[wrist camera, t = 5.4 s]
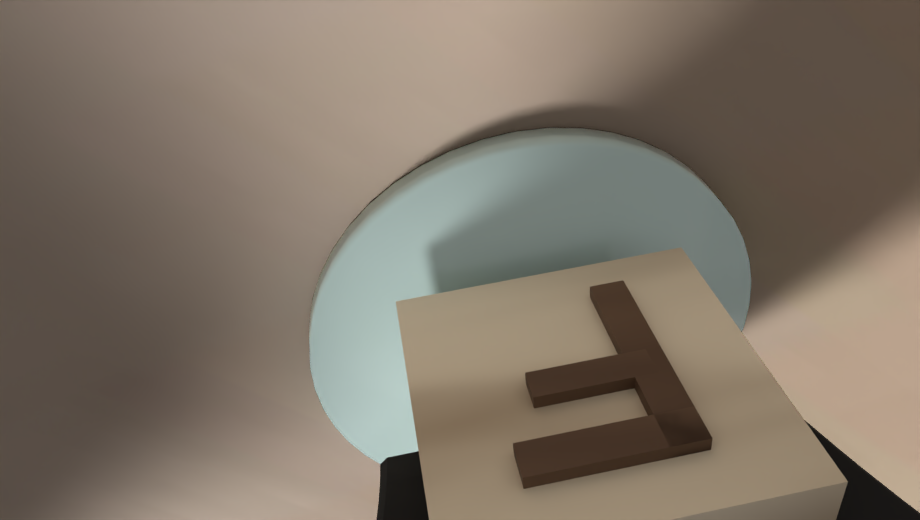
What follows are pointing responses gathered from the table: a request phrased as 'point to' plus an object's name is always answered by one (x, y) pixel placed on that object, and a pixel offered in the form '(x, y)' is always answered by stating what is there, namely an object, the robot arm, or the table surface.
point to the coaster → (499, 252)
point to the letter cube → (604, 403)
